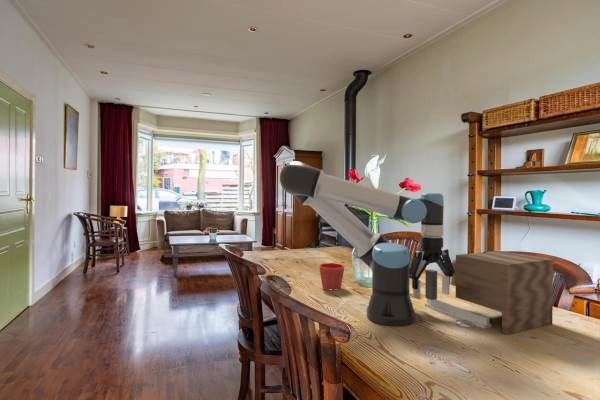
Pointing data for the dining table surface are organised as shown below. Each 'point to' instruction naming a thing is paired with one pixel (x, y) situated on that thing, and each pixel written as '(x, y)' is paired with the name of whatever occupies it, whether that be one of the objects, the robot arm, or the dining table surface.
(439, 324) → the dining table surface
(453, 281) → the cork
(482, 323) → the scraper
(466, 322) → the steel disc
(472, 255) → the walnut cabinet
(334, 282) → the flower pot
